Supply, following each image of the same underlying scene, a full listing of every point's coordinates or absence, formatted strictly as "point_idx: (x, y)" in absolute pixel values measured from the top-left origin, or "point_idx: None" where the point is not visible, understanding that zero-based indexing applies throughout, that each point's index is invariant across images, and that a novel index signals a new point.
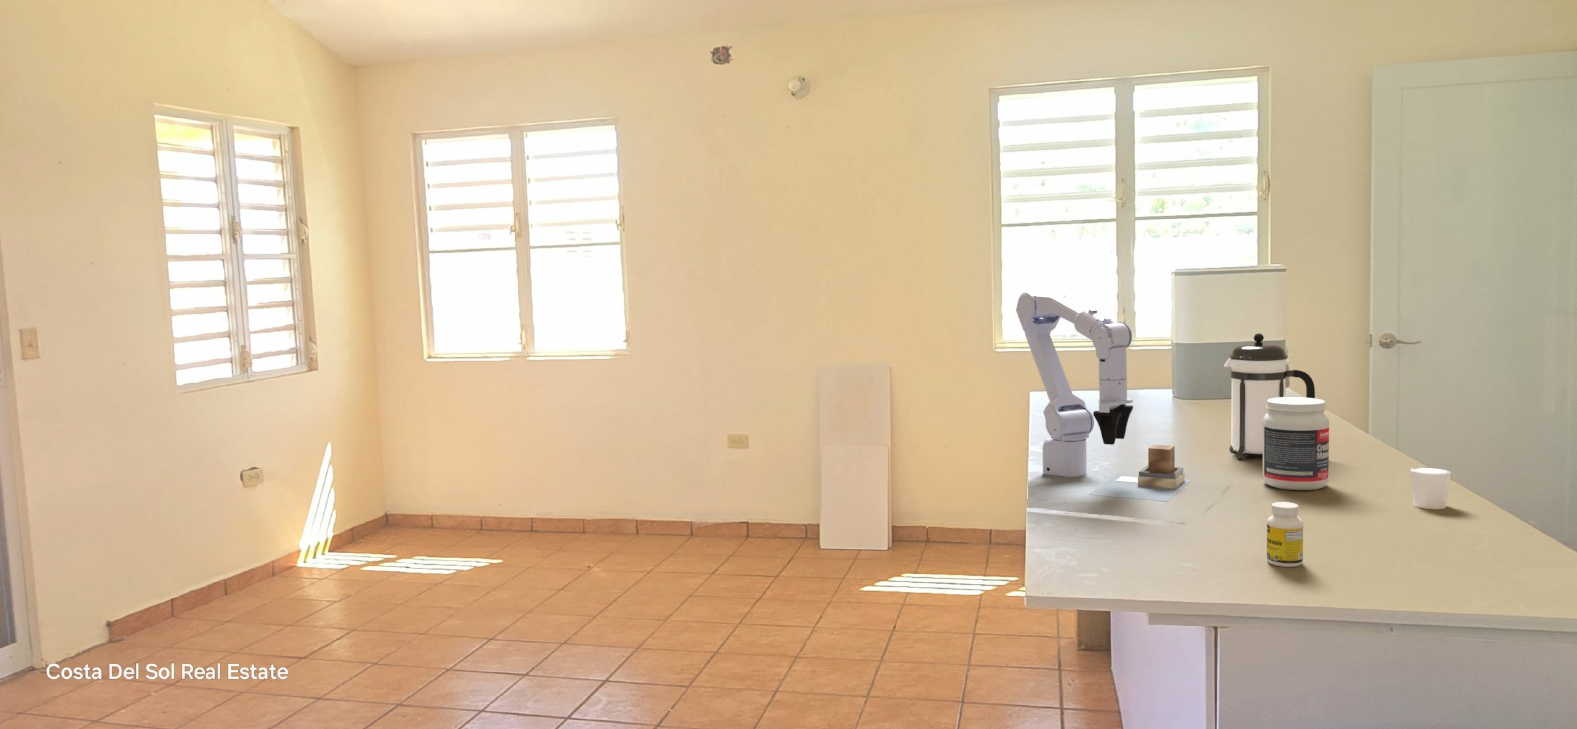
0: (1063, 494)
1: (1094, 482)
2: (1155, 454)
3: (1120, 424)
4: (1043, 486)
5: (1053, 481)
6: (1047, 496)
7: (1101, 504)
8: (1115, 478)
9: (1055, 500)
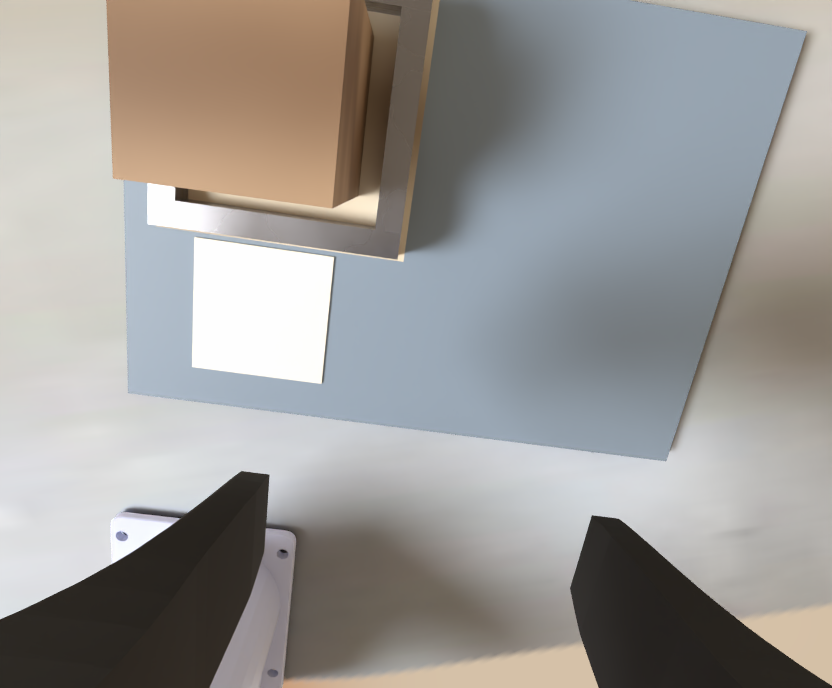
0: None
1: (298, 475)
2: (344, 136)
3: (201, 614)
4: (447, 652)
5: (333, 634)
6: None
7: (781, 381)
8: (252, 390)
9: (714, 570)
